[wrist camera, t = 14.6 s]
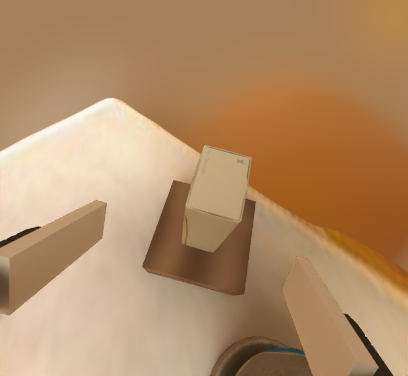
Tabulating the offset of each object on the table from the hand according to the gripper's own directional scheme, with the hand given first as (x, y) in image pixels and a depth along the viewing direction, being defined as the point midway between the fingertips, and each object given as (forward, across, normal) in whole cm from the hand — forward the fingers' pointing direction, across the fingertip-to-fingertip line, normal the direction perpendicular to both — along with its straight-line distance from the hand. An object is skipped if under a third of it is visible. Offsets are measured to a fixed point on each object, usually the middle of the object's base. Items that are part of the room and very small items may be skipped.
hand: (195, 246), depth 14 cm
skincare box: (+12, 0, -4) cm, 13 cm away
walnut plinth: (+16, +1, -8) cm, 17 cm away
